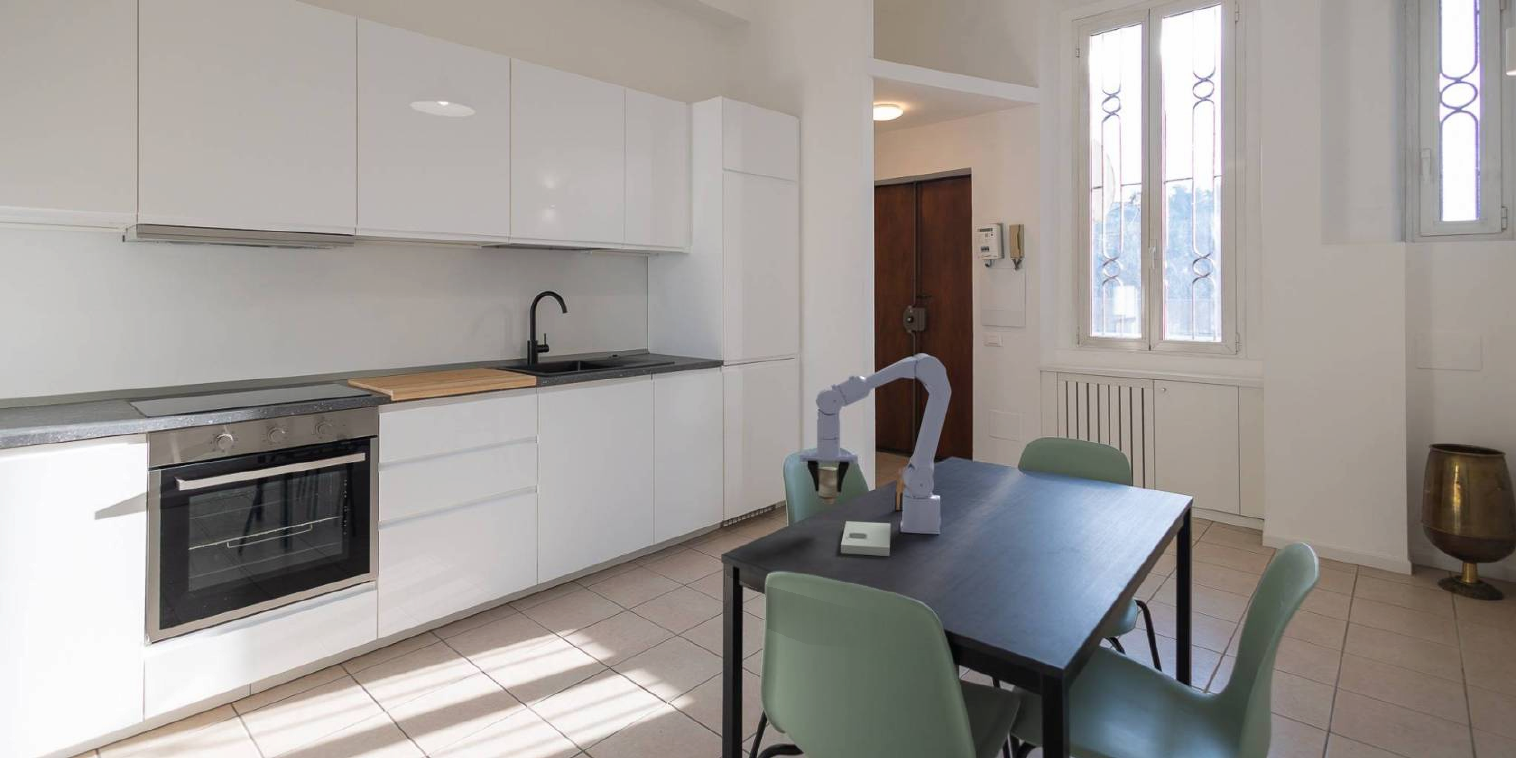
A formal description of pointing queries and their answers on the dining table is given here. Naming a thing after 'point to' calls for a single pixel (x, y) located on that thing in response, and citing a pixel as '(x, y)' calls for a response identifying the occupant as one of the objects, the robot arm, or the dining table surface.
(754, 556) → the dining table surface
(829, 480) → the peg
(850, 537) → the board
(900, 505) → the ammunition clip
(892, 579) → the dining table surface
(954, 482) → the dining table surface
